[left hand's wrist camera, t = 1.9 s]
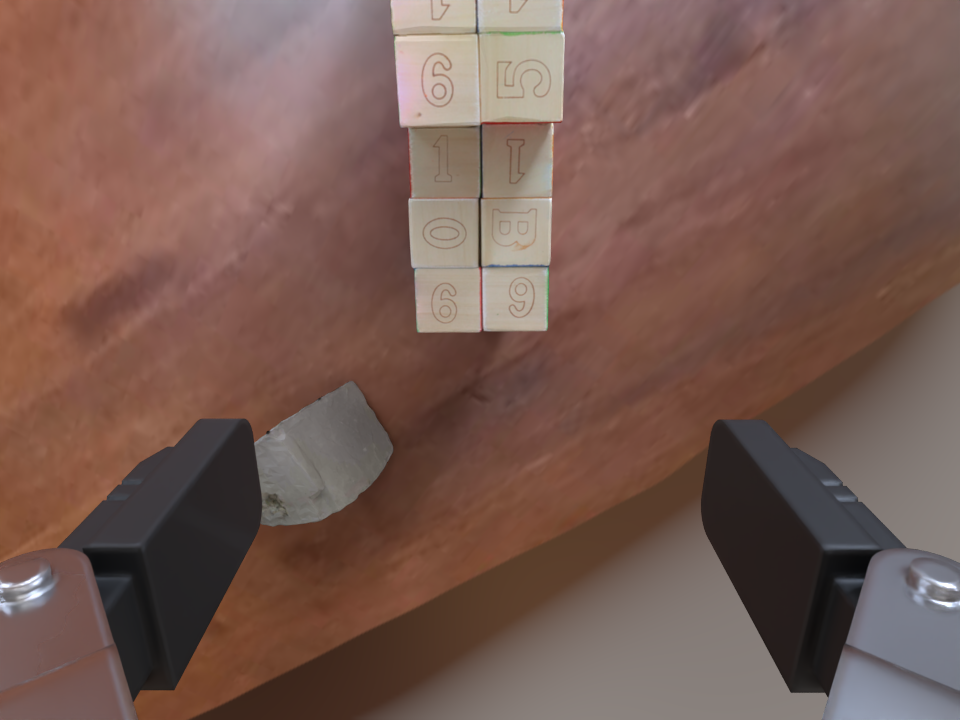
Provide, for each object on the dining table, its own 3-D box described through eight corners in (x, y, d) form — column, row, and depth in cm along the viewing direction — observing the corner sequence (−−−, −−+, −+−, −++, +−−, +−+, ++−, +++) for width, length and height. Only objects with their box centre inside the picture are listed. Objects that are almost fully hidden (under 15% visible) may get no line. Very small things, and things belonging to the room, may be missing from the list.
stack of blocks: (532, 284, 38) (554, 358, 27) (427, 284, 38) (404, 359, 27) (544, -155, 30) (584, -316, 19) (412, -154, 30) (372, -315, 19)
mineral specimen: (314, 340, 38) (303, 417, 32) (403, 429, 43) (410, 513, 36) (223, 406, 40) (193, 493, 33) (318, 486, 44) (309, 578, 37)
